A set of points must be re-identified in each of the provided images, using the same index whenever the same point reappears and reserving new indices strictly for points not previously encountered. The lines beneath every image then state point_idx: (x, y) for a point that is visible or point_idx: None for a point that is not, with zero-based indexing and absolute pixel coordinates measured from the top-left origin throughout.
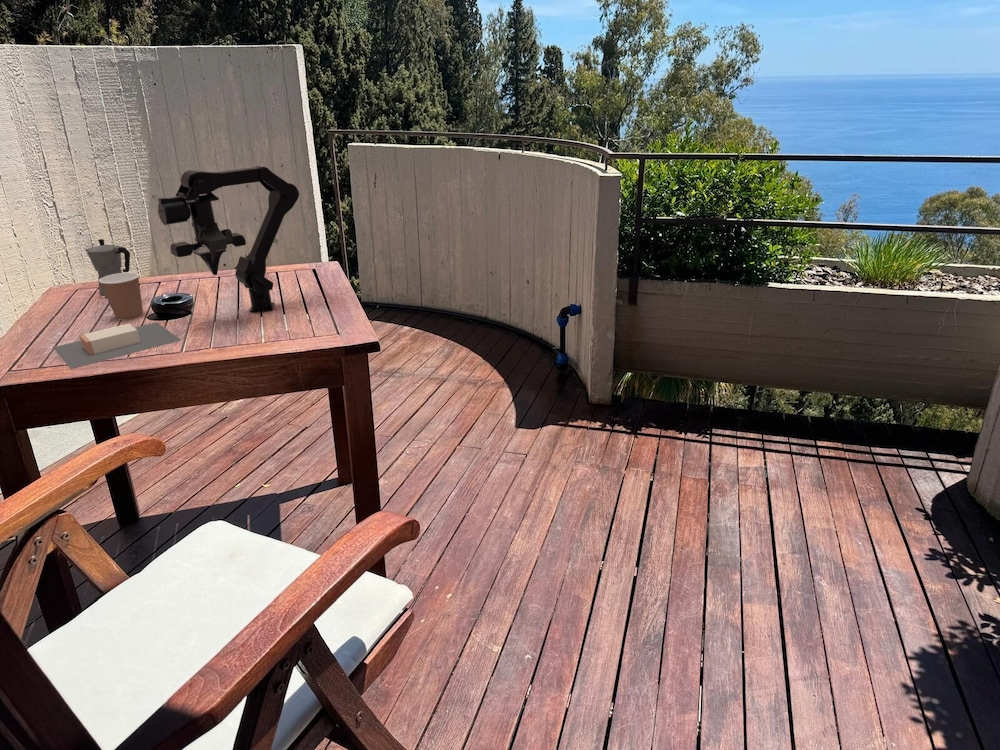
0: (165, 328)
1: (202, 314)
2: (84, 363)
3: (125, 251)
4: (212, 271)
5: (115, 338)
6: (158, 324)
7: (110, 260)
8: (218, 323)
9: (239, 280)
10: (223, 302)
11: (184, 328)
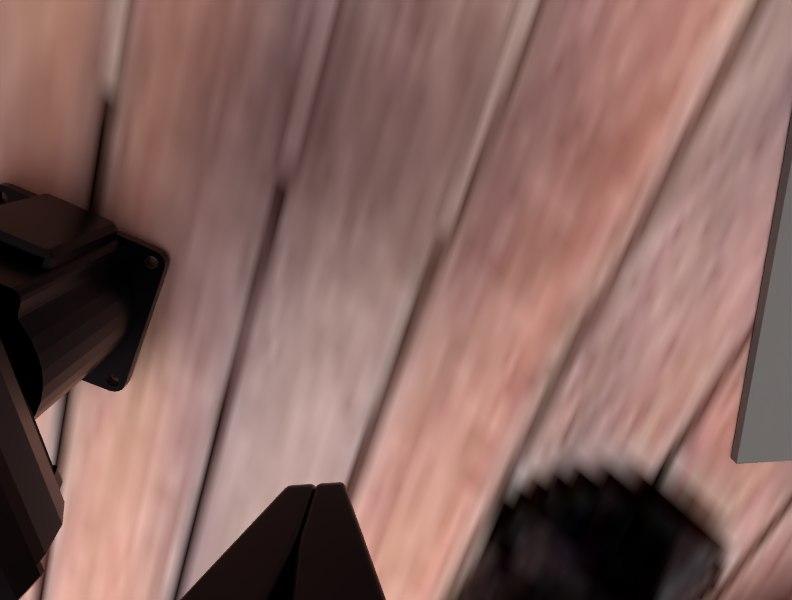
0: (765, 307)
1: (455, 444)
2: None
3: None
4: (359, 531)
5: None
6: (752, 416)
7: None
8: (435, 182)
9: (41, 469)
10: None
11: (659, 246)
